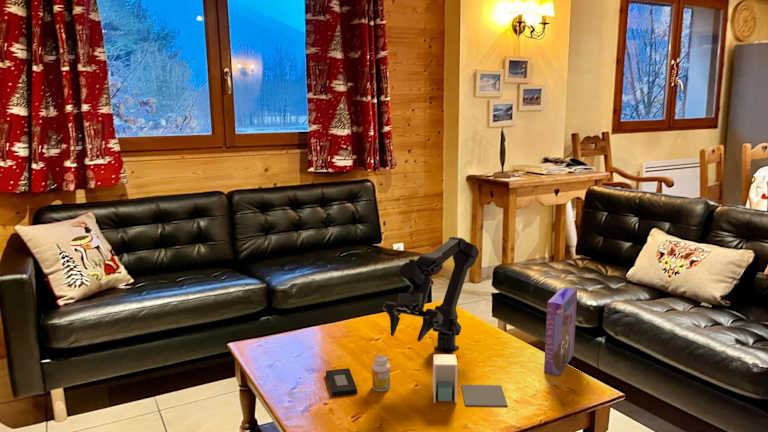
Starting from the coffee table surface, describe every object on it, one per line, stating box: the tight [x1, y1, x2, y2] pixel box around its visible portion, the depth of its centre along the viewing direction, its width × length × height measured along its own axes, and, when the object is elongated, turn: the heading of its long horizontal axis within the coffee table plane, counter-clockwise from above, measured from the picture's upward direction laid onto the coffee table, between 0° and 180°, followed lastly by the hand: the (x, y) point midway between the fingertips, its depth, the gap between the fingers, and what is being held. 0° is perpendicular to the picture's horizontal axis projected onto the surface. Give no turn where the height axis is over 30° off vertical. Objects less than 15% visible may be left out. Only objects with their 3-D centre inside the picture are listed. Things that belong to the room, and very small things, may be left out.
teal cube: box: [436, 382, 453, 402], centre depth 173 cm, size 4×4×4 cm
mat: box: [461, 384, 508, 408], centre depth 174 cm, size 12×12×1 cm
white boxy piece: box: [432, 353, 458, 404], centre depth 172 cm, size 7×7×12 cm
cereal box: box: [543, 286, 578, 377], centre depth 192 cm, size 17×5×24 cm, turn 148°
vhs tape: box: [325, 367, 358, 398], centre depth 182 cm, size 8×14×2 cm, turn 13°
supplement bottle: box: [371, 354, 391, 392], centre depth 178 cm, size 5×5×10 cm
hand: (404, 338), depth 181 cm, fingers open, 9 cm apart
